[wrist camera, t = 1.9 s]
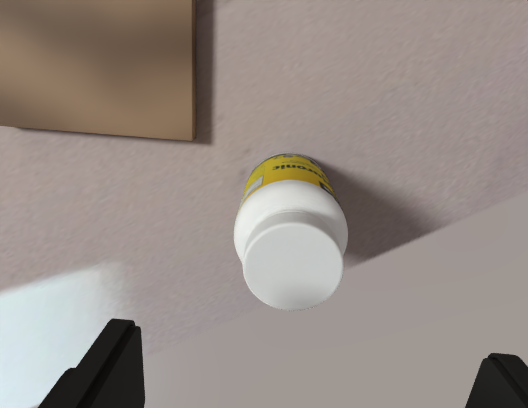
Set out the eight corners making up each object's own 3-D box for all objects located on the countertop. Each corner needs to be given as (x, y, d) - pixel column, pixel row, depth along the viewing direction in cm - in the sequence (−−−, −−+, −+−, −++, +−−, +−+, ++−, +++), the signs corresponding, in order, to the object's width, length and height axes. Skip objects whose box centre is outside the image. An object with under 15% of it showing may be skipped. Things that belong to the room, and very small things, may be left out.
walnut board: (-42, -120, 17) (-60, -130, 16) (196, -103, 17) (191, -113, 16) (5, 122, 22) (-7, 125, 21) (195, 137, 22) (192, 140, 21)
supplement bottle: (346, 178, 22) (393, 254, 13) (298, 242, 24) (310, 347, 15) (275, 133, 21) (272, 179, 12) (230, 202, 23) (199, 287, 14)
